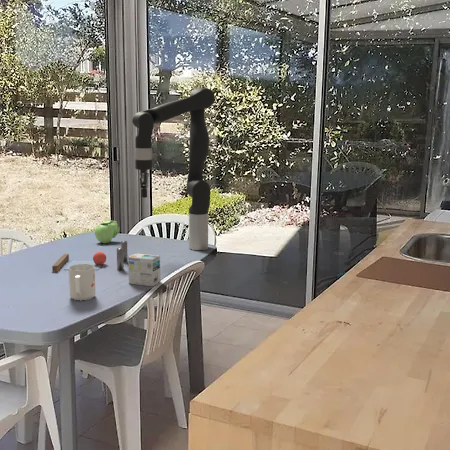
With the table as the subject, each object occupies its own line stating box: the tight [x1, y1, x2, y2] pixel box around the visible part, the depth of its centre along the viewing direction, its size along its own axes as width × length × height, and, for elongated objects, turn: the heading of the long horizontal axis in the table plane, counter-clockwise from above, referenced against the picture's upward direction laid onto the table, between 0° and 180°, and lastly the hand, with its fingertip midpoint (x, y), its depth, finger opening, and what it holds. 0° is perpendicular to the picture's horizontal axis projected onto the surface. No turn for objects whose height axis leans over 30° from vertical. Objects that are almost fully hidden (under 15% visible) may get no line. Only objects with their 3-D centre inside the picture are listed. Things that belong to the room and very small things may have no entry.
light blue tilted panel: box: [63, 260, 102, 271], centre depth 243 cm, size 14×14×1 cm
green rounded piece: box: [94, 219, 120, 244], centre depth 284 cm, size 12×11×11 cm
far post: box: [120, 240, 129, 263], centre depth 249 cm, size 3×3×9 cm
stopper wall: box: [51, 253, 70, 273], centre depth 243 cm, size 2×20×2 cm, turn 2°
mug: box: [68, 264, 97, 302], centre depth 199 cm, size 12×9×11 cm
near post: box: [116, 247, 125, 271], centre depth 237 cm, size 3×3×9 cm
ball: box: [92, 251, 107, 266], centre depth 244 cm, size 6×6×6 cm
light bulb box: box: [127, 252, 162, 287], centre depth 219 cm, size 11×7×11 cm, turn 71°
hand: (144, 197), depth 255 cm, fingers closed
